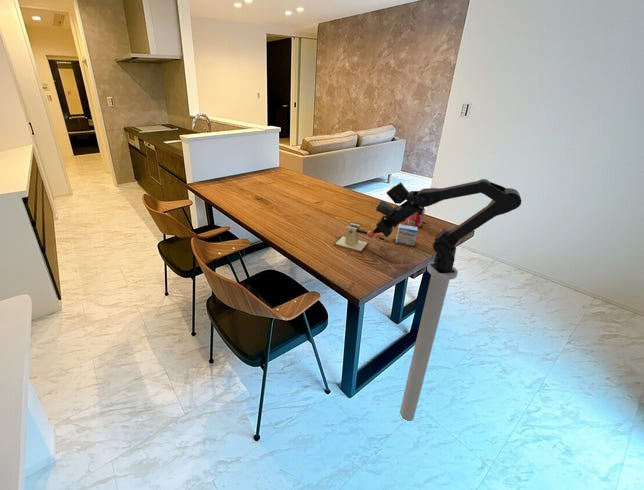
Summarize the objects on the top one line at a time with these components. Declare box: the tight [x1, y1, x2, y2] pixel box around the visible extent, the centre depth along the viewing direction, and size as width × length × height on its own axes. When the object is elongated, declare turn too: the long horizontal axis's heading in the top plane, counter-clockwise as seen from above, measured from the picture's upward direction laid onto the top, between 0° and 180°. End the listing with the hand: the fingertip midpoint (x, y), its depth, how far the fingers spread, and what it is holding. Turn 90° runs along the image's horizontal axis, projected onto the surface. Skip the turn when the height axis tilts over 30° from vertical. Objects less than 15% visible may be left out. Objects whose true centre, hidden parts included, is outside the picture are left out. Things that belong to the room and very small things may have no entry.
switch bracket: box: [335, 222, 368, 252], centre depth 134 cm, size 12×9×10 cm
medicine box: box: [395, 223, 419, 247], centre depth 135 cm, size 8×4×9 cm, turn 68°
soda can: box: [406, 207, 426, 228], centre depth 152 cm, size 7×7×12 cm
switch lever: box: [349, 225, 376, 239], centre depth 131 cm, size 11×3×3 cm, turn 57°
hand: (373, 232), depth 128 cm, fingers closed, pressing on switch lever
